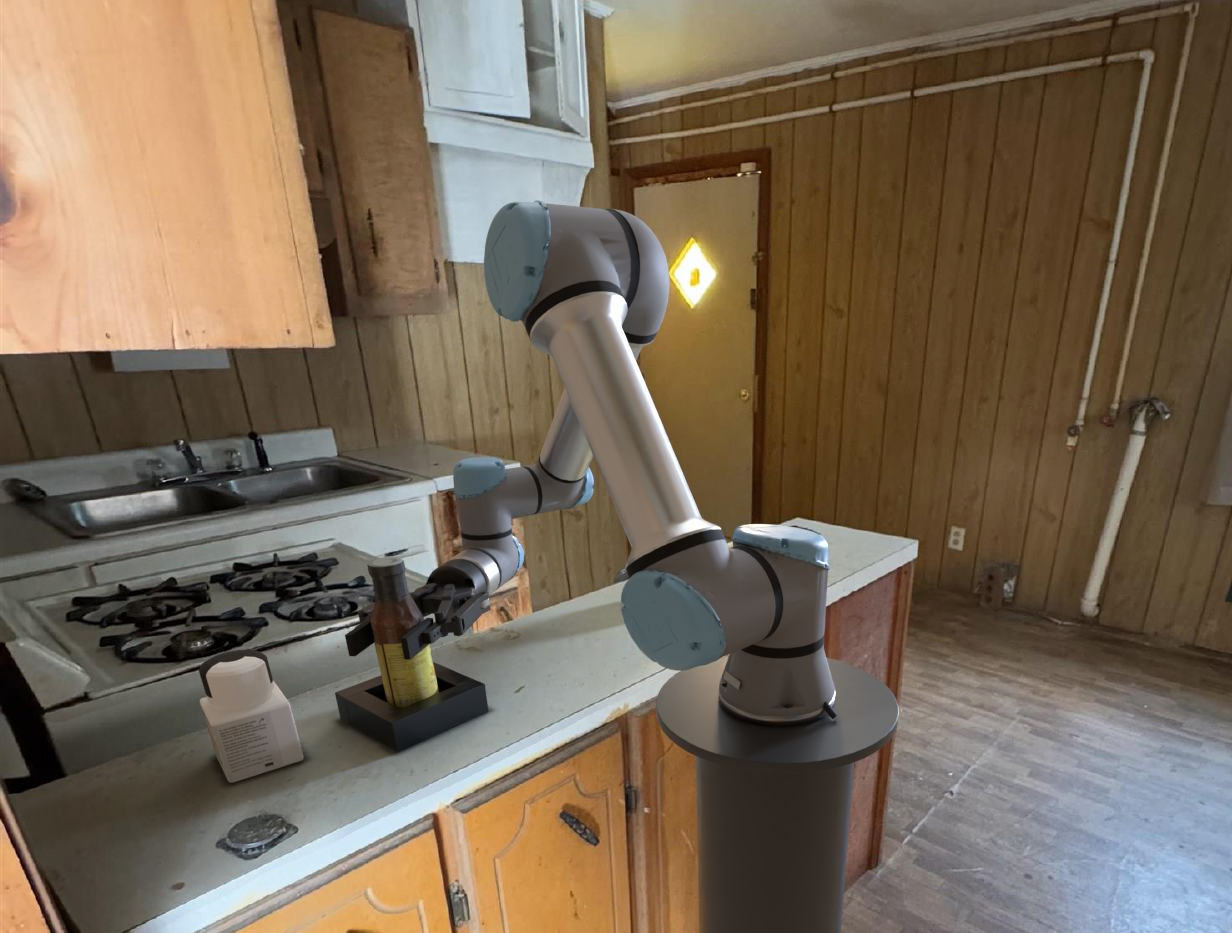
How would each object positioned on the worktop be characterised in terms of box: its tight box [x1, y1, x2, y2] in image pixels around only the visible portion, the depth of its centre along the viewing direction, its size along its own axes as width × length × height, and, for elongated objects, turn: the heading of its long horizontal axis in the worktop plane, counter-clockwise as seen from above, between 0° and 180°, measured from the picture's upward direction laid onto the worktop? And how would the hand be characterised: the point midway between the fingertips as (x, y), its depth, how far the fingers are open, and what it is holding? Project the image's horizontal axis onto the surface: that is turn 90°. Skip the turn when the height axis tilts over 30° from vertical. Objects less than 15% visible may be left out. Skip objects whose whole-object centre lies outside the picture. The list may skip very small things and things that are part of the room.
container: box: [198, 649, 305, 784], centre depth 88 cm, size 8×8×13 cm
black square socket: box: [334, 661, 489, 753], centre depth 99 cm, size 13×13×4 cm
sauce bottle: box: [367, 556, 439, 709], centre depth 96 cm, size 7×6×20 cm
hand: (377, 647), depth 91 cm, fingers closed on sauce bottle, 6 cm apart
